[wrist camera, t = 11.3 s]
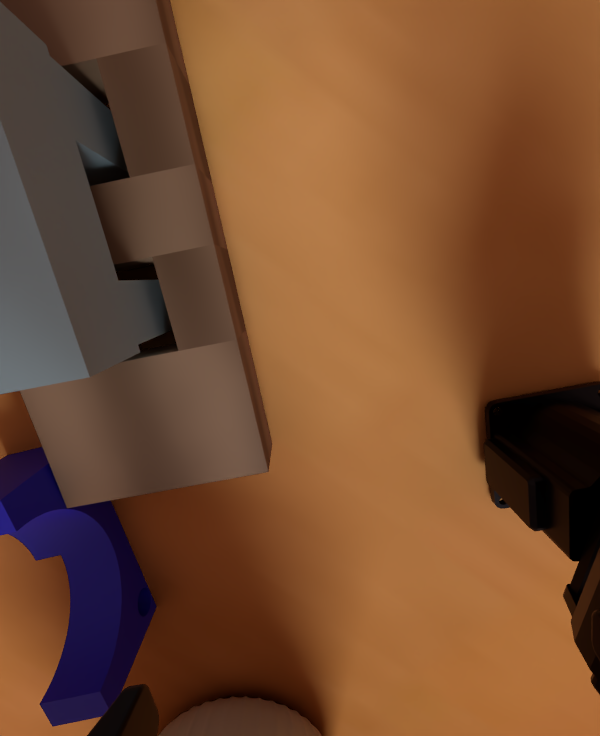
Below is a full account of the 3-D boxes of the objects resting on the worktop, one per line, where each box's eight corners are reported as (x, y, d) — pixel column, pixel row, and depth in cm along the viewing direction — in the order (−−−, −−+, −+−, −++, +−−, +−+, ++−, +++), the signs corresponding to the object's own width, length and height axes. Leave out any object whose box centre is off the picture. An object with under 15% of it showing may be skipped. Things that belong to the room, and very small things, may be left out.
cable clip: (9, 453, 20) (-105, 525, 15) (84, 435, 20) (0, 500, 14) (91, 618, 23) (23, 732, 17) (157, 603, 23) (111, 714, 17)
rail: (146, -102, 14) (108, -199, 11) (272, 443, 20) (268, 471, 17) (-93, -45, 15) (-189, -125, 12) (99, 475, 21) (67, 508, 18)
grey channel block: (121, 114, 16) (-61, -55, 8) (180, 332, 19) (89, 377, 10) (47, 129, 16) (-205, -20, 8) (116, 344, 19) (-24, 398, 10)
